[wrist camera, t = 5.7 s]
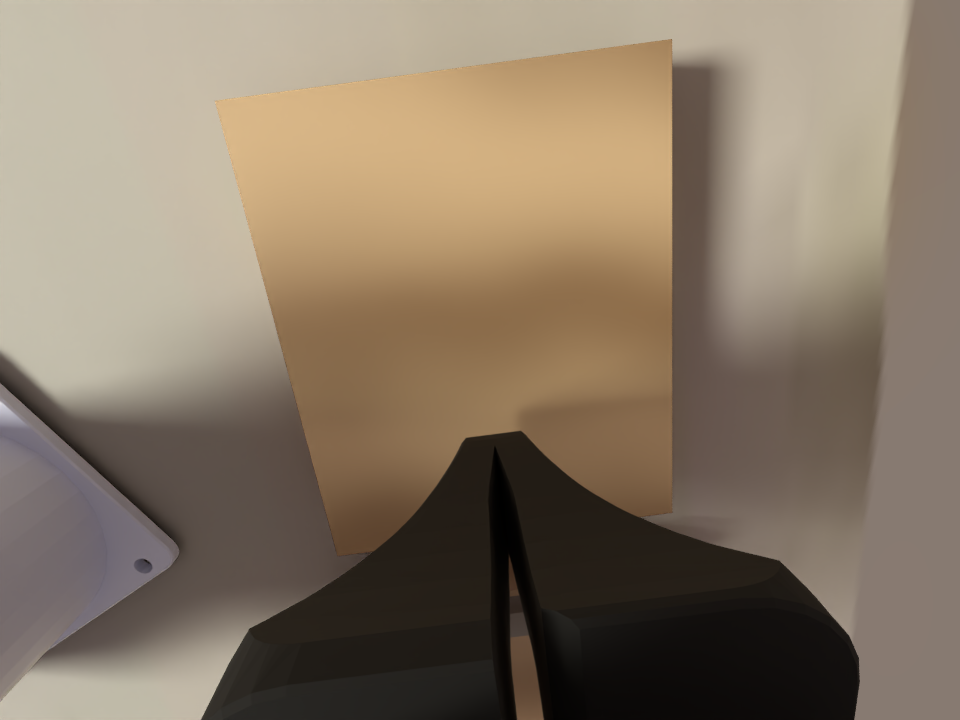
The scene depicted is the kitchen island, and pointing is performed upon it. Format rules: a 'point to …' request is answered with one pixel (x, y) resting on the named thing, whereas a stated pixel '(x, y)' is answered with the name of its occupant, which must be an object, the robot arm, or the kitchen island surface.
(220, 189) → the kitchen island surface
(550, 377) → the oak plank
